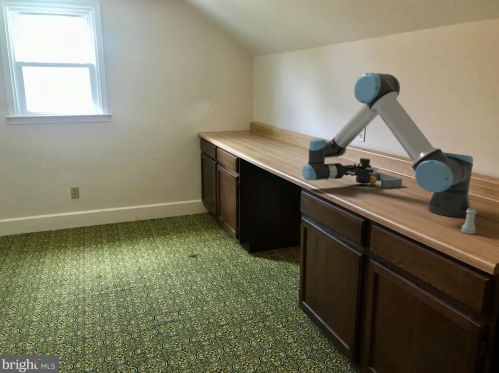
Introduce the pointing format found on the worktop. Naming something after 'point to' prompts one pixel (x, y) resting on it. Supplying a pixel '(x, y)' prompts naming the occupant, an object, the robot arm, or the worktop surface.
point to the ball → (373, 180)
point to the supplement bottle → (363, 165)
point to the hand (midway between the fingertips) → (372, 168)
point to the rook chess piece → (469, 222)
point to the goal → (386, 180)
